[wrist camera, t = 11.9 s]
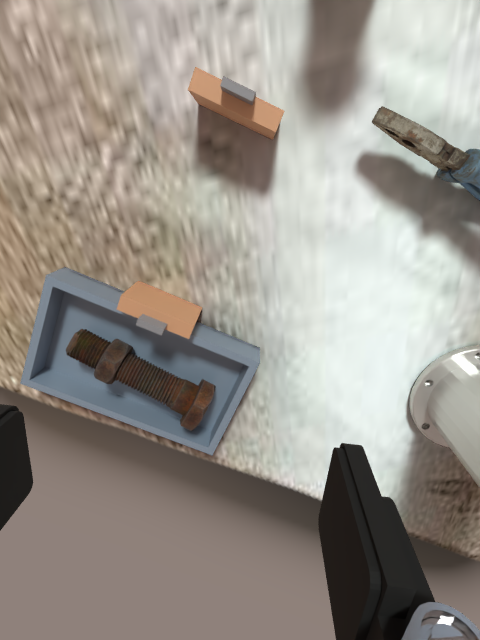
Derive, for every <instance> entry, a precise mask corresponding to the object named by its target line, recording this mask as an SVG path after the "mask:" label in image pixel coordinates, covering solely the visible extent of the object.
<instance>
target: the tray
mask: <svg viewBox="0 0 480 640" xmlns="http://www.w3.org/2000/svg"><path fill="white" fill-rule="evenodd" d="M123 293H124V291H122V290H119V289H117V288H115V287H112V286H110V285H107V284H105V283H103V282H100V281H98V280H95V279H93V278H91V277H88V276H86V275H83V274H81V273H79V272H76V271H74V270H71V269H69V268H66V267H64V268H62V269H59V270H57V271H55V272H52V273H50V274H48V275H46V278H45V282H44V287H43V291H42V295H41V299H40V303H39V308H38V312H37V316H36V320H35V324H34V328H33V333H32V337H31V341H30V345H29V349H28V354H27V358H26V362H25V366H24V370H23V375H22V379H21V383H20V384H23V385H26V386H28V387H31V388H34V389H36V390H39V391H42V392H44V393H47V394H50V395H52V396H55V397H58V398H60V399H63V400H66V401H68V402H71V403H74V404H76V405H79V406H82V407H84V408H87V409H90V410H92V411H95V412H98V413H100V414H103V415H106V416H108V417H111V418H114V419H116V420H119V421H122V422H124V423H127V424H130V425H132V426H135V427H138V428H140V429H143V430H146V431H148V432H151V433H154V434H156V435H159V436H162V437H164V438H167V439H170V440H172V441H175V442H178V443H180V444H183V445H186V446H188V447H191V448H194V449H196V450H199V451H202V452H204V453H207V454H210V455H213V453H214V451H215V449H216V447H217V445H218V444H219V442H220V440H221V438H222V436H223V434H224V432H225V430H226V428H227V426H228V424H229V422H230V420H231V418H232V416H233V414H234V412H235V410H236V408H237V407H238V405H239V403H240V401H241V399H242V397H243V395H244V393H245V391H246V389H247V387H248V385H249V383H250V381H251V379H252V377H253V375H254V373H255V372H256V370H257V368H258V366H259V364H260V348H259V347H257V346H254V345H252V344H249V343H247V342H245V341H242V340H240V339H237V338H235V337H233V336H230V335H228V334H225V333H223V332H221V331H218V330H216V329H213V328H211V327H208V326H206V325H204V324H201V323H199V322H196V324H195V326H194V328H193V331H192V333H191V335H190V338H189V339H187V338H185V337H182V336H180V335H178V334H175V333H173V332H170V331H168V330H165V331H164V333H163V334H162V336H161V335H159V334H156V333H154V332H152V331H149V330H147V329H144V328H142V327H139V326H137V325H136V323H137V320H138V318H136V317H134V316H131V315H129V314H126V313H124V312H121V311H119V310H116V309H117V306H118V303H119V300H120V297H121V295H122V294H123ZM80 329H83V330H84V329H87V331H90V332H92V333H93V334H96V336H97V335H99V337H102V339H103V338H104V339H105V340H108V342H109V341H110V342H112V341H113V340H114V339H119V340H121V341H123V342H125V343H127V344H129V345H131V346H132V347H133V350H132V353H131V354H134V356H135V355H137V357H139V356H140V359H141V358H143V360H145V359H146V362H147V361H149V363H152V365H153V364H154V366H157V368H158V367H160V369H162V368H163V371H164V370H166V372H168V371H169V374H170V373H172V375H173V374H174V375H175V376H178V378H179V377H180V378H181V379H184V380H185V379H186V380H188V381H190V382H192V383H194V384H196V385H199V383H200V382H201V380H202V379H204V380H206V381H208V382H210V383H212V384H213V385H215V386H216V388H215V392H214V395H213V398H212V401H211V403H210V405H209V407H208V409H207V411H206V413H205V414H204V416H203V418H202V420H201V422H200V423H199V425H198V426H197V427H196V428H195V429H194V430H192V431H190V430H188V429H186V428H184V427H182V426H181V424H180V420H181V418H182V416H183V415H181V414H179V413H177V412H175V411H173V410H171V409H170V408H169V407H168V406H166V404H164V405H163V402H162V403H160V401H159V402H157V399H156V400H154V398H151V396H150V397H149V396H148V395H145V393H144V394H143V393H142V392H141V393H140V391H137V389H135V390H134V387H133V388H131V386H129V387H128V385H125V384H124V383H123V384H122V382H119V380H117V381H116V380H115V381H114V383H112V384H106V383H104V382H102V381H100V380H98V379H96V378H95V377H94V371H95V369H94V368H91V366H90V367H88V365H85V363H84V364H83V363H82V362H79V360H77V361H76V359H73V357H72V358H71V357H70V356H67V354H66V348H67V346H68V344H69V342H70V341H71V339H72V337H73V335H74V334H75V333H76V332H78V331H79V330H80Z"/></svg>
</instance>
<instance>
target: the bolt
mask: <svg viewBox="0 0 480 640" xmlns="http://www.w3.org/2000/svg"><path fill="white" fill-rule="evenodd" d="M132 350H133V347H132V346H131V345H129V344H127V343H125V342H123V341H121V340H119V339H114V340H113V341H112V342H110V341H109V342H108V340H105V339H104V338H103V339H102V337H99V335H97V336H96V334H93V333H92V332H90V331H87V329H84V330H83V329H80V330H79V331H78V332H76V333H75V334H74V335H73V337H72V339H71V341H70V342H69V344H68V346H67V348H66V354H67V356H70V357H71V358H72V357H73V359H76V361H77V360H79V362H82V363H83V364H84V363H85V365H88V367H90V366H91V368H94V369H95V371H94V377H95V378H96V379H98V380H100V381H102V382H104V383H106V384H112V383H114V381H115V380H116V381H117V380H119V382H122V384H123V383H124V384H125V385H128V387H129V386H131V388H133V387H134V390H135V389H137V391H140V393H141V392H142V393H143V394H144V393H145V395H148V396H149V397H150V396H151V398H154V400H156V399H157V402H159V401H160V403H162V402H163V405H164V404H166V406H168V407H169V408H170V409H171V410H173V411H175V412H177V413H179V414H181V415H183V416H182V418H181V420H180V424H181V426H182V427H184V428H186V429H188V430H190V431H192V430H194V429H195V428H196V427H197V426H198V425H199V423H200V422H201V420H202V418H203V416H204V414H205V413H206V411H207V409H208V407H209V405H210V403H211V401H212V398H213V395H214V392H215V388H216V386H215V385H213V384H212V383H210V382H208V381H206V380H204V379H202V380H201V382H200V383H199V385H196V384H194V383H192V382H190V381H188V380H186V379H185V380H184V379H181V378H180V377H179V378H178V376H175V375H174V374H173V375H172V373H170V374H169V371H168V372H166V370H164V371H163V368H162V369H160V367H158V368H157V366H154V364H153V365H152V363H149V361H147V362H146V359H145V360H143V358H141V359H140V356H139V357H137V355H135V356H134V354H131V353H132Z"/></svg>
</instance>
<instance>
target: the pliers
mask: <svg viewBox="0 0 480 640" xmlns="http://www.w3.org/2000/svg"><path fill="white" fill-rule="evenodd" d="M372 123H373V124H374V125H376V126H377V127H378V128H380V129H381V130H382V131H384V132H385V133H386V134H388V135H389V136H390V137H391V138H393V139H394V140H395V141H397V142H398V143H399V144H401V145H402V146H404V147H406V148H407V149H409V150H410V151H412V152H414V153H415V154H417V155H418V156H422V157H423V158H424V159H426V160H428V161H429V162H430V163H431V164H433V165H434V166H436V167H438V168H439V170H438V172H437V177H439V178H441V179H442V180H445V181H448V182H453V183H460V184H461V185H462V186H463V187H464V188H465V189H467V190H468V191H469V192H470V193H471V194H472V195H473V196H474V197H475V198H477V199H478V200H479V201H480V150H479V149H469V150H467V151H466V152H463V151H462V150H460V149H458V148H455V147H453V146H452V145H450V144H448V143H447V142H446V141H445V140H444V139H443V138H441V137H439V136H438V135H436V134H434V133H433V132H431V131H430V130H428V129H427V128H425V127H423V126H421V125H419V124H417V123H415V122H413V121H411V120H409V119H408V118H405V117H403V116H401V115H399V114H398V113H395V112H393V111H391V110H389V109H387V108H385V107H383V106H382V107H381V108H379V110H378V111H377V113H376V115H375V117H374V119H373V120H372Z"/></svg>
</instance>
